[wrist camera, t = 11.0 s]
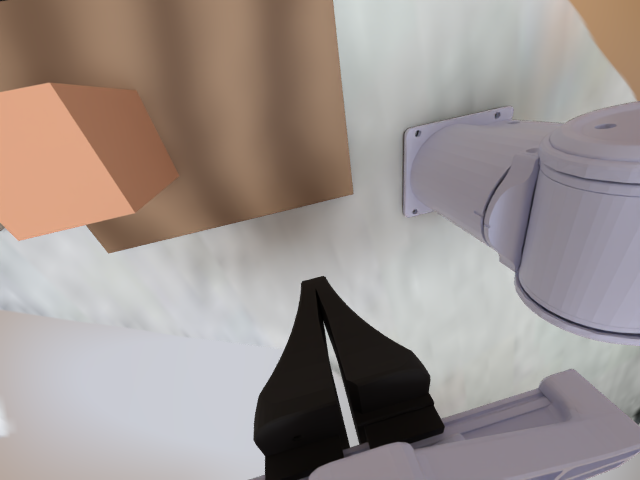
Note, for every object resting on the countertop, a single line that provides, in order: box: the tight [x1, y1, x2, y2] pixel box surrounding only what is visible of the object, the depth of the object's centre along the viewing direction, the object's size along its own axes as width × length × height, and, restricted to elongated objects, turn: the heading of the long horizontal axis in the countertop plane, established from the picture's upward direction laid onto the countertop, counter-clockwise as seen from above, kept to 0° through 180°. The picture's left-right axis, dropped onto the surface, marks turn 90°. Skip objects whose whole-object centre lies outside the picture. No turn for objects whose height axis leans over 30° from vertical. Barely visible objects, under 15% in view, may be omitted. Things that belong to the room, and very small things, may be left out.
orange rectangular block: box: [0, 83, 179, 241], centre depth 12 cm, size 5×5×7 cm
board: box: [0, 0, 353, 253], centre depth 16 cm, size 20×14×1 cm
